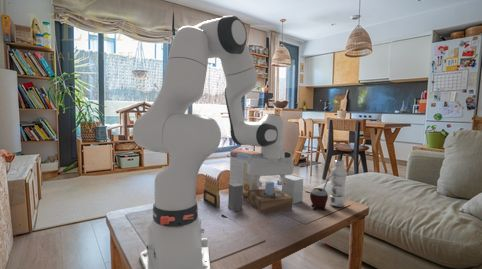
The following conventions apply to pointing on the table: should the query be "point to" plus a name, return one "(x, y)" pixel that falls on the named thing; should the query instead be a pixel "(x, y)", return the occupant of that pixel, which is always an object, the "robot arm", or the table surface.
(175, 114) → the robot arm
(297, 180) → the small box
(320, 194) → the mate gourd
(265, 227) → the table surface
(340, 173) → the plastic bottle
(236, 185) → the square peg
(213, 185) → the ammunition clip
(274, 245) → the table surface
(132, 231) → the table surface
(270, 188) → the blue-gray rectangular block
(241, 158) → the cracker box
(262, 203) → the socket block
